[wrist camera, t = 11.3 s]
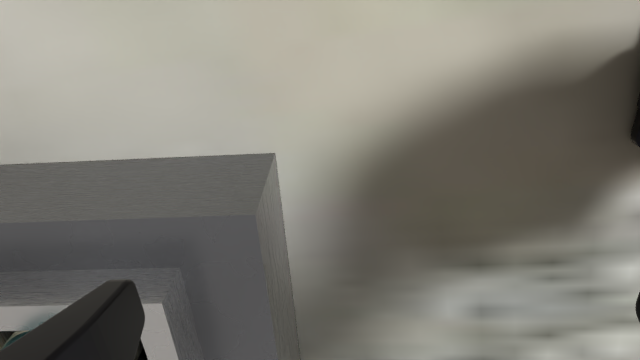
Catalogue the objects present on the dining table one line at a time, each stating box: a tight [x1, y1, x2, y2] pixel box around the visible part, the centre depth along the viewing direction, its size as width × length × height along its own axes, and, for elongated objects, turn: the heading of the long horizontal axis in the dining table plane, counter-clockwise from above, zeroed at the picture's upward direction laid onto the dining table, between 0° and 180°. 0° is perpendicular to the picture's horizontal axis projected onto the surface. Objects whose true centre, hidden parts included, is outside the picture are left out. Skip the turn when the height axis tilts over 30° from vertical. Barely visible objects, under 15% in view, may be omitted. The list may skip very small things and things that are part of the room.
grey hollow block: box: [0, 153, 300, 360], centre depth 22 cm, size 18×14×7 cm
